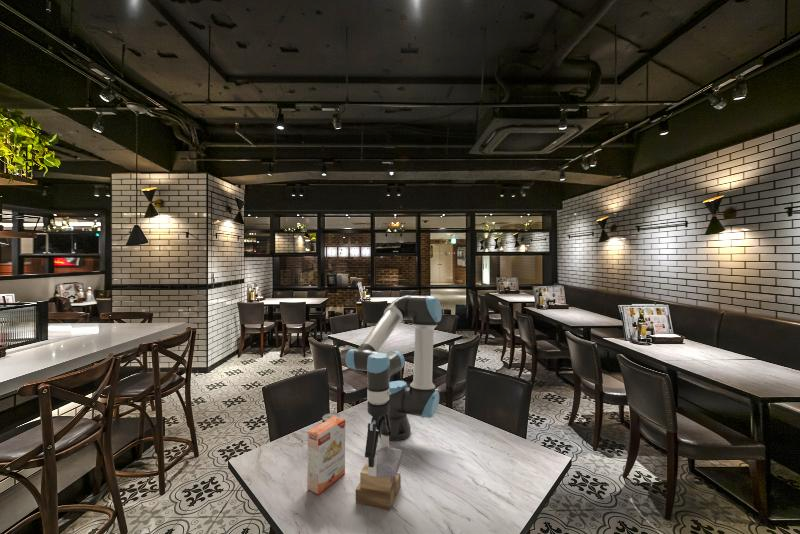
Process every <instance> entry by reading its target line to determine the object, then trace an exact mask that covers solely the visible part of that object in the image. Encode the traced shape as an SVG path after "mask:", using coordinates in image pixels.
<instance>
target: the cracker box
mask: <svg viewBox="0 0 800 534" xmlns="http://www.w3.org/2000/svg"><path fill="white" fill-rule="evenodd" d="M345 474H346V419H345V418H341V417H340V418H338V417H336V416H334V417H332V418H330V419H329V420H327V421H325V422H322V423H320V424H318V425H316V426H314V427H313V428H311V429H309V430H307V481H306V482H307V485H306V486H307V490H309V491H310V492H312V493H314V494H316V495H320V494H321V493H322V492H324V491H325V490H326V489H328V487H330V486H331V485H332V484H334V483H335V482H336V481H338V479H340V478H341V477H342V476H344V475H345Z"/></svg>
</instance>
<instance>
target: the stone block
mask: <svg viewBox="0 0 800 534" xmlns="http://www.w3.org/2000/svg"><path fill="white" fill-rule="evenodd" d="M375 455H377V477H396V475H397V473H399V472H398V470H399V469H400V466H401V462H402V459H403V450H402V449H400V448H399V449H398V448H395V447H390V446H389V448H388V447H386V448H381V447H380V448H378V449H376V454H375Z"/></svg>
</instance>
